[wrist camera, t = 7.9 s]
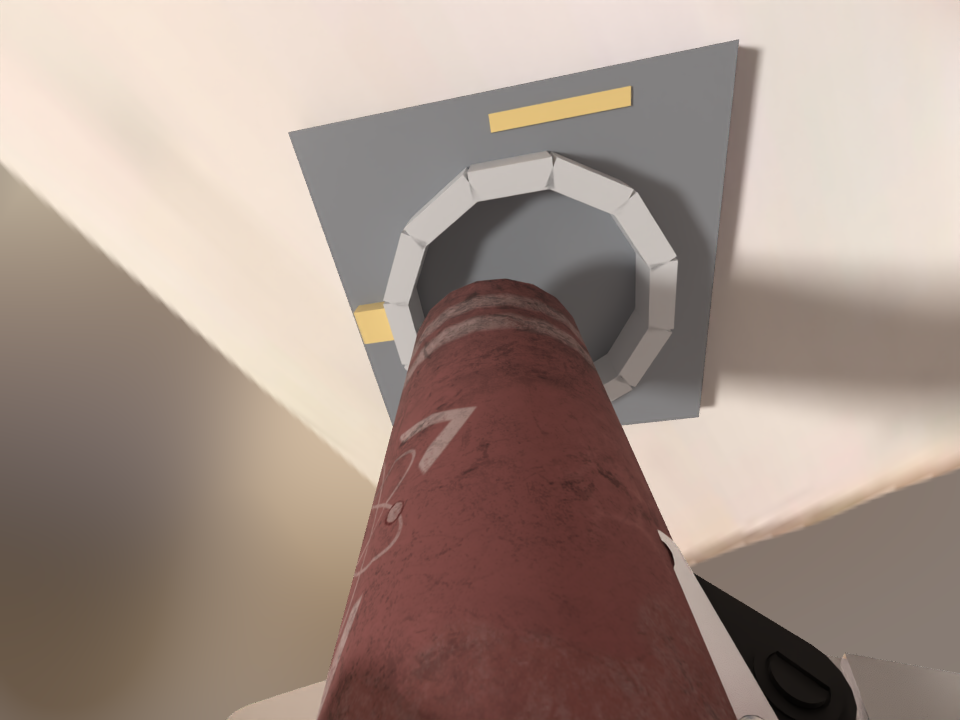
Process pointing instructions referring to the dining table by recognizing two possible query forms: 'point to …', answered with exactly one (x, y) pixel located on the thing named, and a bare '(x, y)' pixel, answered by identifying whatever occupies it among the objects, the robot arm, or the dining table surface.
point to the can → (514, 541)
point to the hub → (542, 214)
